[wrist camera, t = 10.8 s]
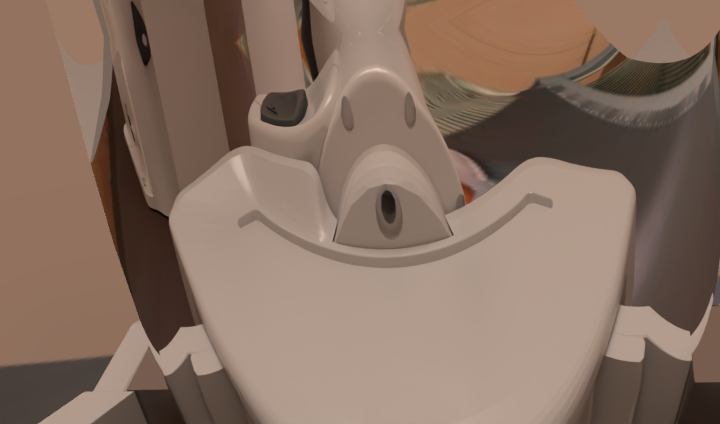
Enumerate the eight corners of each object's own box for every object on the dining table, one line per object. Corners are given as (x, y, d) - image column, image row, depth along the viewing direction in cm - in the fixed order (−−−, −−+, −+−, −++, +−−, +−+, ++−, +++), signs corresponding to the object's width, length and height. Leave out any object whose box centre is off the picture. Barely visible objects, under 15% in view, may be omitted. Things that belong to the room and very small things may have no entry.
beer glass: (274, 563, 17) (51, -99, 9) (536, 478, 18) (537, -180, 10) (337, 959, 11) (-136, 47, 3) (722, 799, 12) (1063, -182, 4)
